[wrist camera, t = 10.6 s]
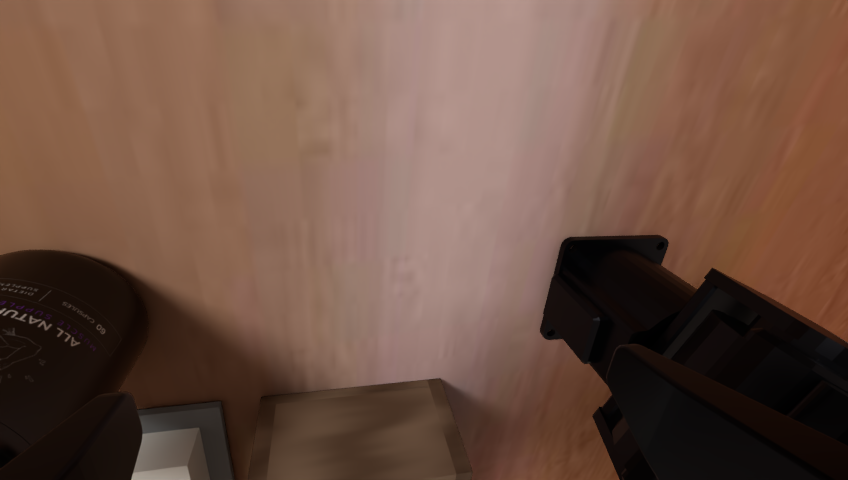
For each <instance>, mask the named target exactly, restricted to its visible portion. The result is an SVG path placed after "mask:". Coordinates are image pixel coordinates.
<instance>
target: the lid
mask: <svg viewBox="0 0 848 480" xmlns="http://www.w3.org/2000/svg"><path fill="white" fill-rule="evenodd" d="M131 480H210V477H209V472H208V467H207V463H206V458H205V453H204V448H203V443H202V438H201V433H200V429H199V428H190V429H181V430H172V431H164V432H155V433H146V434H143V435H142V442H141V446H140V450H139V453H138V457H137V461H136V464H135V468H134V471H133V475H132V479H131Z"/></svg>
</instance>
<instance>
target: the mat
mask: <svg viewBox="0 0 848 480" xmlns="http://www.w3.org/2000/svg"><path fill="white" fill-rule="evenodd" d="M137 411H138V414H139V418H140V421H141V425H142V430H143V434H146V433H155V432H164V431H172V430H181V429H190V428H199V429H200V433H201V438H202V443H203V448H204V453H205V458H206V463H207V467H208V472H209V477H210V480H235V478H234V473H233V467H232V461H231V455H230V450H229V444H228V438H227V432H226V427H225V421H224V415H223V409H222V404H221V401H219V402H209V403H200V404H190V405H181V406H171V407H161V408H152V409H142V410H137Z"/></svg>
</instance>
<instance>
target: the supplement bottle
mask: <svg viewBox="0 0 848 480" xmlns="http://www.w3.org/2000/svg"><path fill="white" fill-rule="evenodd" d="M148 330H149V322H148V316H147V312H146V309H145V306H144V304H143V302H142V300H141V298H140V297H139V295H138V294H137V292H136V291H135V290H134V289H133V287H132V286H131V285H130V284H129V283H128V282H127V281H126V280H125V279H123V278H122V277H121V276H120V275H118V274H117V273H116V272H114V271H113V270H111V269H109V268H108V267H106V266H104V265H102V264H100V263H98V262H96V261H94V260H91V259H89V258H86V257H83V256H80V255H76V254H72V253H68V252H62V251H55V250H24V251H17V252H12V253H7V254H4V255H0V469H1V468H2V467H3V466H5V465H6V464H7V463H9V462H10V461H11V460H13V459H14V458H15V457H17V456H18V455H19V454H21V453H22V452H23V451H25V450H26V449H27V448H28V447H30V446H31V445H32V444H34V443H35V442H36V441H38V440H39V439H40V438H42V437H43V436H44V435H46V434H47V433H48V432H50V431H51V430H52V429H54V428H55V427H56V426H58V425H59V424H60V423H62V422H63V421H64V420H66V419H67V418H68V417H70V416H71V415H72V414H74V413H75V412H76V411H77V410H79V409H80V408H81V407H83V406H84V405H85V404H87V403H88V402H89V401H91V400H92V399H93V398H95V397H97V396H98V395H101V394H106V393H116V392H118V391H119V389H120V387H121V386H122V384H123V382H124V381H125V379H126V378H127V376H128V374H129V373H130V371H131V369H132V368H133V366H134V364H135V362H136V361H137V359H138V357H139V356H140V354H141V352H142V350H143V348H144V346H145V343H146V340H147V337H148Z"/></svg>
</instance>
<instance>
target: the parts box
mask: <svg viewBox="0 0 848 480" xmlns="http://www.w3.org/2000/svg"><path fill="white" fill-rule="evenodd" d="M472 473H473V471H472V468H471V465H470V462H469V460H468V457H467V454H466V451H465V448H464V445H463V442H462V439H461V437H460V434H459V431H458V428H457V425H456V422H455V419H454V417H453V414H452V411H451V408H450V405H449V402H448V399H447V397H446V394H445V391H444V388H443V385H442V382H441V379H431V380H421V381H411V382H402V383H392V384H383V385H373V386H363V387H354V388H344V389H334V390H325V391H315V392H306V393H296V394H286V395H277V396H267V397H261V403H260V409H259V415H258V421H257V426H256V432H255V438H254V444H253V450H252V456H251V462H250V468H249V474H248V480H471V478H472Z"/></svg>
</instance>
